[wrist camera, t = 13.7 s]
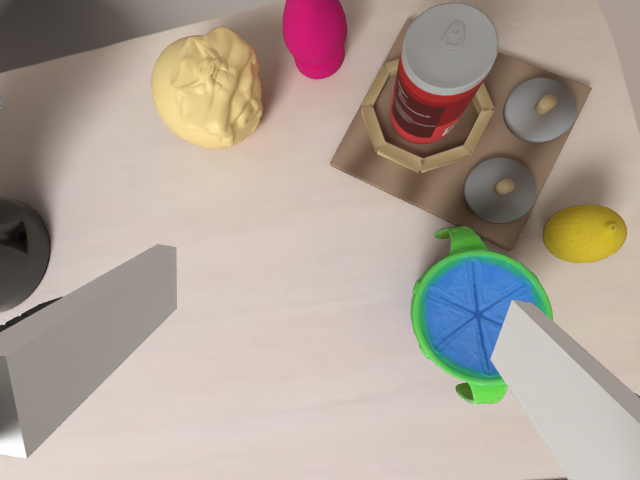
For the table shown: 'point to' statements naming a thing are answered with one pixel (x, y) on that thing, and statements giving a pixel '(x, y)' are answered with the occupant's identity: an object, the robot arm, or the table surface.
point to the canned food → (441, 70)
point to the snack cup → (470, 311)
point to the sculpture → (209, 88)
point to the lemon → (584, 233)
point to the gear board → (469, 147)
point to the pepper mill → (315, 35)
